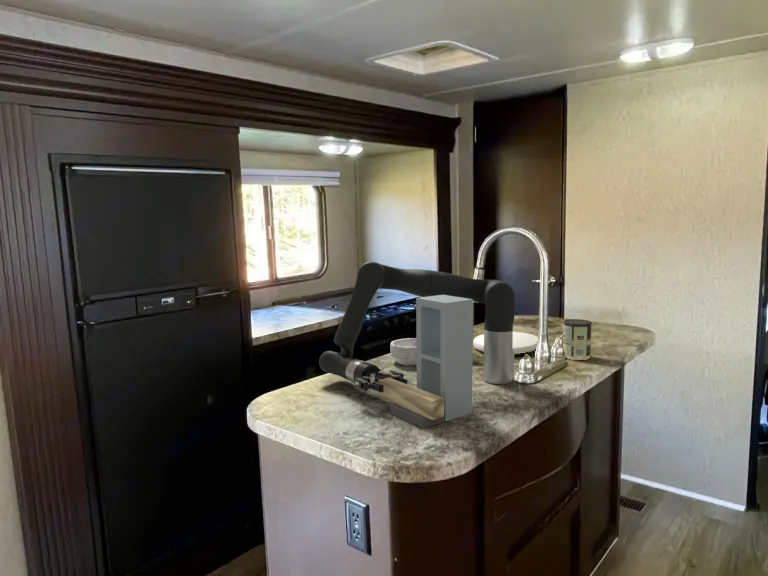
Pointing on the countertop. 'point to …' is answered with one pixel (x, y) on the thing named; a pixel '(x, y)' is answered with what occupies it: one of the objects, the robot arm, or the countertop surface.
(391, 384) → the maple bar
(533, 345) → the plate
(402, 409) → the charcoal block
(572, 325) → the coffee can
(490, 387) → the countertop surface
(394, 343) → the white bowl
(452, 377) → the slate stand
